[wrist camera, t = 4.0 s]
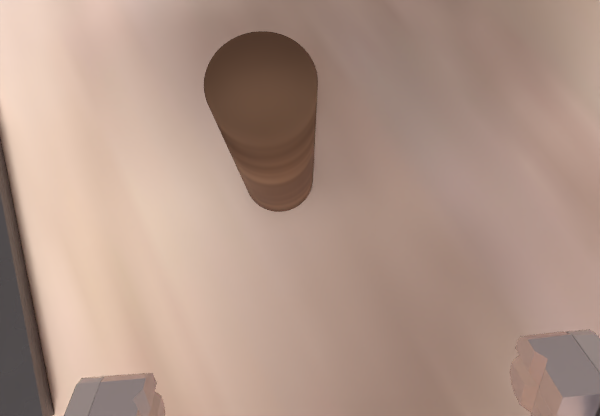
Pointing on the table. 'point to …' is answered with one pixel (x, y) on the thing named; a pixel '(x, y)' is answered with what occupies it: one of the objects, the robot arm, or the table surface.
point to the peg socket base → (18, 322)
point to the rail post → (266, 114)
